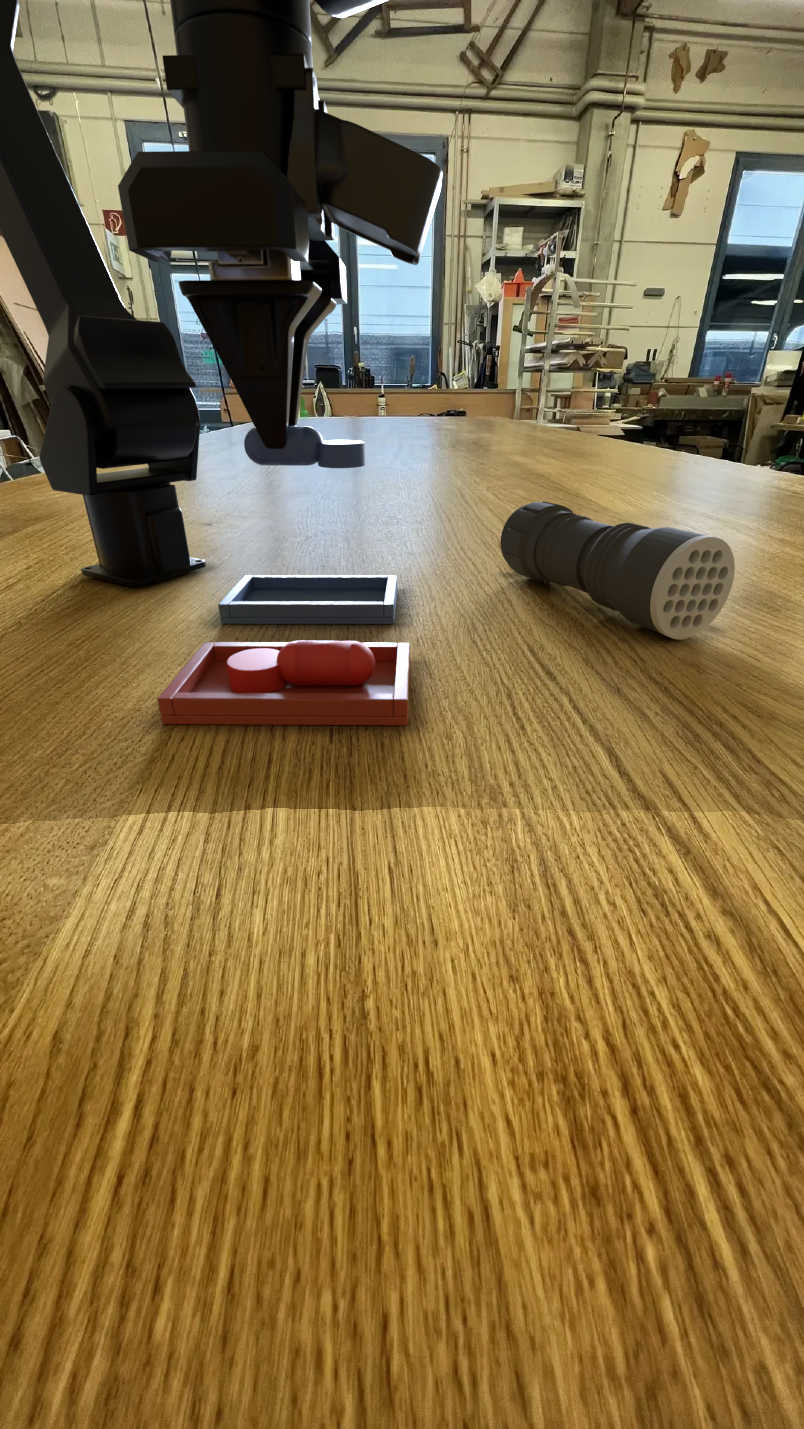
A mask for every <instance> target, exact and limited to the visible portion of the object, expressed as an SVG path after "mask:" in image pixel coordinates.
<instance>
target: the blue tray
mask: <svg viewBox="0 0 804 1429" xmlns="http://www.w3.org/2000/svg"><path fill="white" fill-rule="evenodd" d="M397 597H398V575H396V574H380V575H379V574H263V575H262V574H254V575H253V574H244V576H243V577H241V579H240V580H239V581H238V582H237V583H236V584H235V586H233V588H231V589H230V591H229V592H228V593H227V594H226V595H225V596H224V597H223V599H222V600H220V602H219V603H218V605H217V606H218V613H219V618H220V624H221V625H395V619H396V618H395V616H396V609H397V599H398V598H397Z"/></svg>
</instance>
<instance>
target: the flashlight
mask: <svg viewBox="0 0 804 1429" xmlns="http://www.w3.org/2000/svg"><path fill="white" fill-rule="evenodd" d="M500 551H501V555H502V557H503V559H504V561H505V562H506V564H507V566H508V567H509V568H510V569H511V570H513V571H514V572H515V573H516V574H518V575H521V577H522V576H523V577H525V578H527V579H530V580H533V581H535V582H538V583H543V582H550V583H553V584H557V585H559V586H561V587H571V588H573V589H575V590H578V591H581V592H584V593H586V594H587V595H588V596H589V598H590V599H591V600H592V601H593V602H594V603H596V604H597V605H599V606H601V607H602V606H603V607H605V608H606V609H610V610H612V611H614V612H618V613H619V614H620V615H621V616H623V617H624V618H625V619H626V620H627V621H630V623H633V624H636V625H638V626H641V627H643V628H646V629H648V630H650V631H653V632H656V633H658V634H661V635H663V636H665V637H668V638H671V639H674V640H686V639H690V638H692V637H694V636H696V635H698V634H700V633H701V632H703V631H704V630H705V629H706V628H708V626H710V625H711V624H712V623H713V621H714V620H715V619H716V618H717V617H718V615H719V614H720V613H721V612H722V609H723V608H724V606H725V604H726V603H727V600H728V598H729V595H730V593H731V590H732V587H733V585H734V584H733V583H734V580H735V572H736V570H735V569H736V564H735V557H734V553H733V551H732V549H731V547H730V545H729V544H728V543H727V542H726V541H725V540H723V539H722V538H720V537H717V536H712V535H708V534H707V535H706V534H702V533H698V532H694V531H688V530H684V529H680V528H677V527H669V526H665V527H654V528H653V527H649V526H647V525H642V524H638V523H637V524H636V523H633V522H622V523H618V524H616V525H611V524H607V523H603V522H599V521H595V520H594V519H591V518H590V517H588V516H584V515H580V514H576V513H575V512H573V510H572V509H570V508H568V507H567V506H565V505H561V504H557V503H553V502H549V501H533V502H530V503H528V504H524V505H522V506H520V507H519V508H517V509H515V511H513V512H512V513H511V515H510V516H509V517H508V518H507V519H506V521H505V523H504V525H503V527H502V530H501V535H500Z"/></svg>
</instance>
